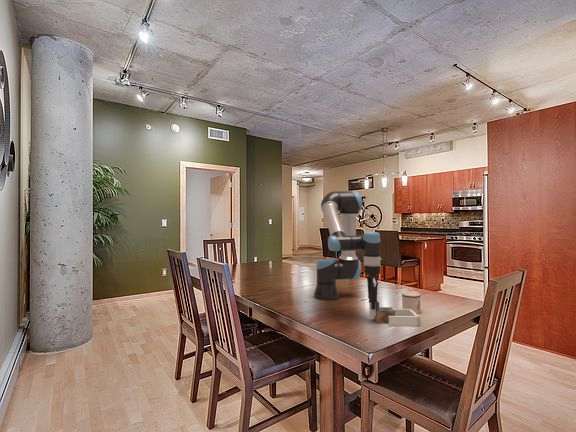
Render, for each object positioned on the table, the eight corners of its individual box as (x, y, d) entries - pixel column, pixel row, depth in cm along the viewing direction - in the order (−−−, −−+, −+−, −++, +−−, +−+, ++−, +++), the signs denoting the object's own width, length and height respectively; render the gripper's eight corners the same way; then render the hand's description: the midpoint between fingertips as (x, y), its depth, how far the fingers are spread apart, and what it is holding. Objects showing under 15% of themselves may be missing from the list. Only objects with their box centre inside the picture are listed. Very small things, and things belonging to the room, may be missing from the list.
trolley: (377, 323, 142) (377, 303, 142) (374, 319, 148) (374, 299, 148) (395, 323, 142) (395, 303, 142) (391, 319, 148) (391, 299, 148)
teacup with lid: (421, 314, 154) (421, 291, 154) (402, 313, 157) (401, 290, 157) (419, 308, 165) (419, 286, 165) (401, 306, 168) (401, 285, 168)
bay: (389, 325, 139) (389, 316, 139) (382, 316, 151) (382, 308, 151) (420, 326, 138) (420, 317, 138) (411, 317, 150) (410, 308, 150)
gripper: (383, 267, 139) (384, 320, 138) (377, 263, 152) (377, 311, 151) (366, 267, 139) (367, 320, 139) (361, 263, 152) (362, 311, 152)
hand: (372, 315), depth 145 cm, fingers closed
